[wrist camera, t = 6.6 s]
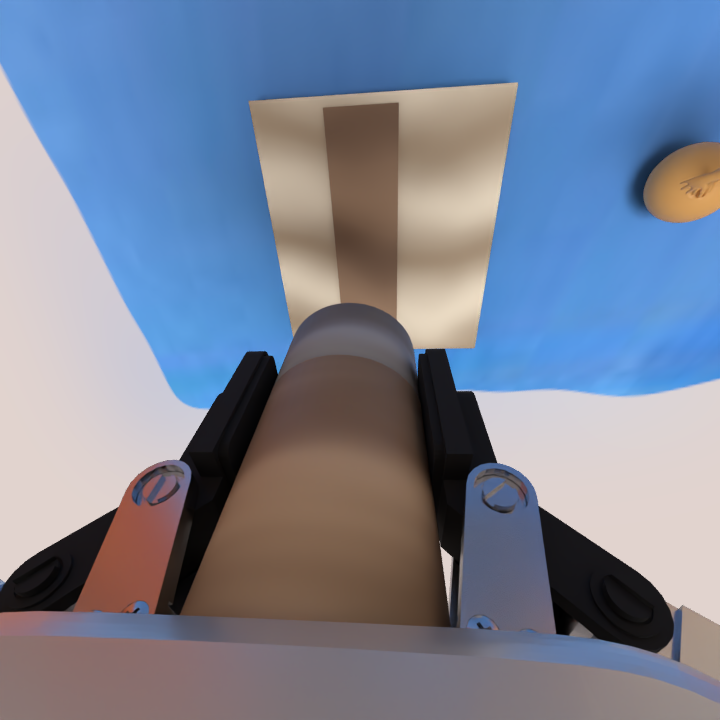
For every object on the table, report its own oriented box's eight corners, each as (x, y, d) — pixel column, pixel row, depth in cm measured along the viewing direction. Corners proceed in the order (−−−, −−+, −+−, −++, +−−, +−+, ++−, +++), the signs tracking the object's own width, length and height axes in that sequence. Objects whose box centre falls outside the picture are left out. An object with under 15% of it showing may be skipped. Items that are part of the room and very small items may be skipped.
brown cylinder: (280, 304, 11) (90, 651, 4) (416, 301, 11) (485, 673, 4) (301, 404, 14) (207, 732, 6) (412, 404, 13) (447, 749, 6)
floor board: (256, 102, 20) (246, 100, 18) (509, 84, 19) (519, 82, 17) (299, 340, 29) (295, 352, 27) (470, 337, 28) (475, 350, 26)
